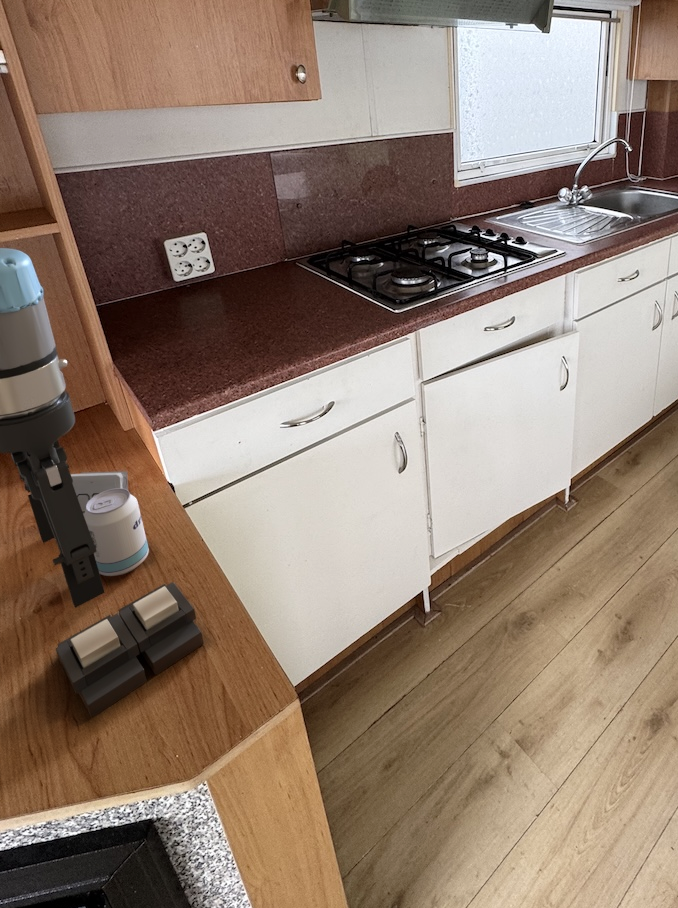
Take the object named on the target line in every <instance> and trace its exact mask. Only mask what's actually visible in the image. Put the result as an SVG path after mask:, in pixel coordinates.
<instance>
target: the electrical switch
mask: <svg viewBox="0 0 678 908" xmlns="http://www.w3.org/2000/svg"><path fill="white" fill-rule="evenodd" d="M70 474H71V477H72V479H73V483H72V484H73V487H74V489H75V492H76V495H77V498H78V501H79V503H80V506H81V509H82V512H83V515H84V513H85V511H86V504H87V503H88V501H89V500H90V499H91V498H93V497H94V496H96V495H97V494H99V493H101V492H104V491H106V490H110V489H115V488H123V489H126V490H128V491H129V482H128V481H129V480H128V471H127V470H118V471H93V472H92V471H91V472H90V471H89V472H87V471H86V472H80V473H70Z"/></svg>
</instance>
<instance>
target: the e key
mask: <svg viewBox="0 0 678 908" xmlns="http://www.w3.org/2000/svg"><path fill="white" fill-rule="evenodd" d="M133 607H134V611H135V614H136V616H137V617H138V619H139V620H140V622H141V623H142V624H143V626H144V627H145V629H146V630H148V629H150V628H151V627H153V626H155V625H156V624H158V623H160V622H161V621H163V620H165V619H166V618H168V617H170V616H171V615H173V614H175V613H176V612H178V611H179V610H178V605H177V602H176V600H175V599H174V598H173V596H172V595H171V594H170V592H169V591H168V590H167V588H166V587H165V586H164V587H162V588H160V589H159V590H157V591H155V592H153V593H152V594H150V595H148V596H146V597H145V598H143V599H141V600H139V601H137V602H136V603H134V604H133Z"/></svg>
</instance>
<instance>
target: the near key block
mask: <svg viewBox="0 0 678 908" xmlns="http://www.w3.org/2000/svg"><path fill="white" fill-rule="evenodd" d="M106 619H107V620H108V621H109V623H110V625H111V626H112V628H113V629H114V631H115V633H116V634H117V636H118V639H119V642H120V647H119V648H117V649H115V650H114V651H112V652H110V653H109V654H107V655H105V656H104V657H102V658H100V659H99V660H97V661H95V662H94V663H92V664H90V665H89V666H87V667H85V668H84V669H83V667H82V665H81V663H80V661H79V659H78V657H77V655H76V653H75V651H74V650H73V646H72V643H71V639H72V638H74V637H76V636H77V635H79V634H81V633H83V632H84V631H86V630H88V629H90V628H91V627H93V626H95V625H97V624H98V623H100V622H102V621H104V620H106ZM55 652H56V654H57V658H58V660H59V662H60V664H61V666H62V668H63V671H64V672H65V674H66V677H67V678H68V681H69V682H70V684H71V687H72V689H73V691H74V692H75V694H78V695H79V696H80V698H81V700H82V702H83V704H84V706H85V709H86V710H87V712H88V715H89V716H90V718H91V719H92V718H94V717H96V716H97V715H99V714H100V713H102V712H104V711H105V710H106V709H108V708H109V707H111V706H112V705H114V704H116V703H117V702H119V701H120V700H122V699H123V698H124V697H126V696H128V695H130V693H132V692H133V691H135V690H137V689H138V688H140V687H141V686H142V685H144V684H145V683H147V676H146V672H145V669H144V667H143V665H142V664H141V662H140V661H139V659H138V658H137V656H139V655H140V654H141V653H140V651H139V649H138V645H137V643H136V641H135V640H134V638H133V636H132V635H131V633H130V632H129V630H128V629H127V627H126V625H125V624H124V622H123V621H122V619H121V618H120V616H119V612H118V613H115V614H114V615H110V614H109V615H107V616H105V617H103V618H102V619H99V620H97V621H96V622H94V623H92V624H90V625H89V626H87V627H85V628H84V629H82V630H80V631H78V632H77V633H74V634H73V635H72V636H69V637H68V638H66V639H63V640H62V641H60V642H59V643H57V646H56V647H55Z"/></svg>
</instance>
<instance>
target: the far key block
mask: <svg viewBox="0 0 678 908" xmlns="http://www.w3.org/2000/svg"><path fill="white" fill-rule="evenodd" d="M164 586H165V587H166V588H167V590H168V591H169V592H170V594H171V595H172V596H173V598H174V599H175V600H176V602H177V605H178V610H179V611H178V612H176V613H175V614H173V615H171V616H170V617H168V618H166V619H165V620H163V621H161V622H160V623H158V624H156V625H155V626H153V627H151V628H150V629H148V630H146V629H145V627H144V626H143V624H142V623H141V622H140V620H139V619H138V617H137V616H136V614H135V611H134V607H133V604H134V603H136V602H137V601H139V600H141V599H143V598H145V597H146V596H148V595H150V594H152V593H153V592H155V591H157V590H159V589H160V588H162V587H164ZM118 614H119V616H120V618H121V619H122V621H123V622H124V624H125V625H126V627H127V629H128V630H129V632H130V633H131V635H132V636H133V638H134V640H135V641H136V643H137V645H138V649H139V653H140V654H141V655H142V656H143V658H144V660H145V662H146V663H147V664H148V666H149V667H150V669H151V671H152V673H153V674H154V676H158V675H159V674H160V673H162V672H164V671H165V670H167V669H168V668H170V667H171V666H173V665H174V664H176V663H177V662H179V661H181V660H182V659H183V658H185V657H186V656H188V655H189V654H192V652H194V651H195V650H197V649H198V648H200V647H202V646H203V645H204V644H205V643H204V637H203V633H202V631H201V629H200V628H199V626H198V625H197V624H196V622H195V621H194V620H196V619H197V616H196V615H197V614H196V610H195V608H194V606H193V604H192V603H190V601H189V600H188V599H187V597H186V596H185V595H184V594H183V592H182V591H181V590H180V588H179V587H178V586H177V585H176V583H175V582H174V581H172V582H170V583H168V584H166V583H164V584H162V585H160V586H158V587H156V588H155V589H152V590H151V591H149V592H148V593H146V594H144V595H142V596H140V597H139V598H136V599H135V600H134V601H132V602H130V603H128V604H126V605H124V606H122V607H121V608H119V609H118Z"/></svg>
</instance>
